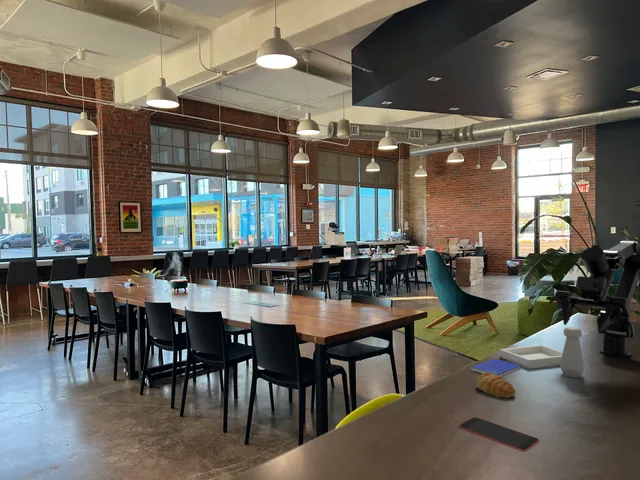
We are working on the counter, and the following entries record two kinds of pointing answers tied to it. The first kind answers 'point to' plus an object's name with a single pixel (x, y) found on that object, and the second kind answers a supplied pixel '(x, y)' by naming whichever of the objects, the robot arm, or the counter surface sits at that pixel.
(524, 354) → the tray
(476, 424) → the smartphone
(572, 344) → the salt shaker
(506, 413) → the counter surface
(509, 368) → the hard drive
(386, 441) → the counter surface
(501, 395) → the pastry
